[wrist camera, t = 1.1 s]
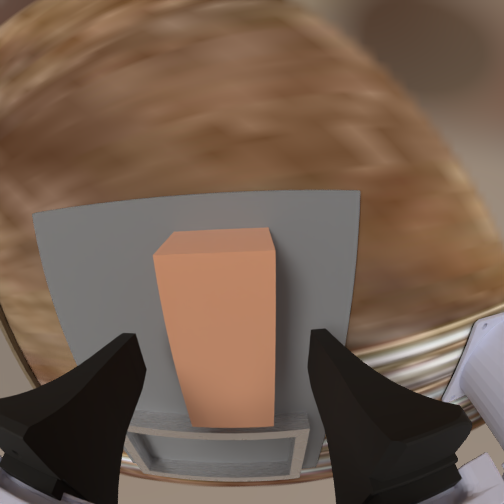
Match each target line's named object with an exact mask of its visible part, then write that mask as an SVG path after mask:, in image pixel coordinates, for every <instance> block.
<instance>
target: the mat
mask: <svg viewBox="0 0 504 504" xmlns="http://www.w3.org/2000/svg"><path fill="white" fill-rule="evenodd" d="M359 211H360V191H358V190H273V191H244V192H222V193H205V194H190V195H177V196H165V197H153V198H143V199H133V200H124V201H115V202H106V203H98V204H90V205H83V206H76V207H69V208H62V209H56V210H49V211H43V212H37V213H34V214H32V217H33V223H34V228H35V234H36V239H37V244H38V248H39V253H40V257H41V261H42V265H43V269H44V273H45V277H46V280H47V284H48V287H49V291H50V294H51V297H52V301H53V304H54V307H55V310H56V313H57V316H58V318H59V321H60V324H61V327H62V329H63V332H64V335H65V337H66V340H67V342H68V345H69V347H70V350H71V352H72V354H73V357H74V359H75V361H76V364H77V366H78V365H80V364H81V363H83V362H84V361H85V360H87V359H88V358H90V357H91V356H92V355H94V354H95V353H96V352H98V351H99V350H100V349H102V348H103V347H104V346H106V345H107V344H108V343H109V342H111V341H112V340H113V339H115V338H116V337H118V336H119V335H120V334H122V333H136V336H137V339H138V343H139V346H140V349H141V353H142V356H143V359H144V362H145V365H146V368H147V371H146V376H145V381H144V385H143V389H142V392H141V395H140V398H139V400H138V403H137V406H136V408H135V409H137V410H145V411H154V412H165V413H177V414H188V411H187V408H186V404H185V401H184V397H183V394H182V390H181V387H180V383H179V379H178V376H177V372H176V368H175V364H174V360H173V356H172V352H171V348H170V343H169V339H168V334H167V330H166V325H165V321H164V316H163V311H162V306H161V301H160V295H159V290H158V284H157V278H156V272H155V266H154V260H153V254H154V253H155V252H156V251H157V250H158V249H159V248H160V247H161V245H162V244H163V243H164V242H165V241H166V240H167V239H168V238H169V237H170V235H171V234H172V233H173V232H178V231H197V230H217V229H240V228H266V227H268V228H269V231H270V234H271V237H272V241H273V244H274V247H275V252H276V341H275V401H274V414H277V413H290V412H301V411H306V412H307V417H308V422H309V427H310V431H309V436H308V441H307V446H306V450H305V455H304V460H303V464H302V468H301V469H303V468H311V467H316V464H317V461H318V458H319V455H320V451H321V448H322V444H323V441H324V437H325V430H324V426H323V423H322V420H321V417H320V414H319V411H318V408H317V405H316V402H315V399H314V396H313V392H312V389H311V385H310V380H309V374H308V369H307V365H308V355H309V345H310V333H311V330H312V329H323V328H326V329H327V330H328V331H329V332H330V333H331V334H332V335H333V336H334V337H335V338H336V339H337V340H338V341H339V342H341V343H342V344H343V345H344V346H345V342H346V336H347V330H348V323H349V316H350V309H351V302H352V294H353V286H354V277H355V267H356V256H357V244H358V230H359ZM139 434H140V433H139ZM140 435H141V437H142V439H143V441H144V443H145V444H146V446H147V448H148V450H149V451H150V453H151V455H152V456H153V457H157V458H165V459H173V460H183V461H196V462H216V463H254V462H274V461H286V460H288V456H289V448H290V440H291V437H290V438H278V439H261V440H202V439H185V438H173V437H164V436H155V435H147V434H140ZM123 449H124V450H125V451H126V453H127V454H128V456H129V457H130V459H131V460H132V462H133V463H136V462H135V461H134V459H133V458H132V456H131V455H130V454H129V452H128V451H127V449H126V448H125V446H124V448H123Z"/></svg>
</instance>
